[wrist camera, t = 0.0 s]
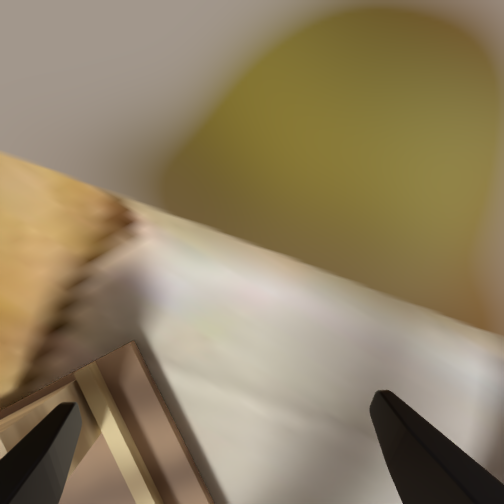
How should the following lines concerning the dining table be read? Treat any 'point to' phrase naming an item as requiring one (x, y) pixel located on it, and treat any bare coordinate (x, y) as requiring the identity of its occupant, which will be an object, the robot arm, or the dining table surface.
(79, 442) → the cream rectangular block
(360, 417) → the dining table surface
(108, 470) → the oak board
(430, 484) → the robot arm
